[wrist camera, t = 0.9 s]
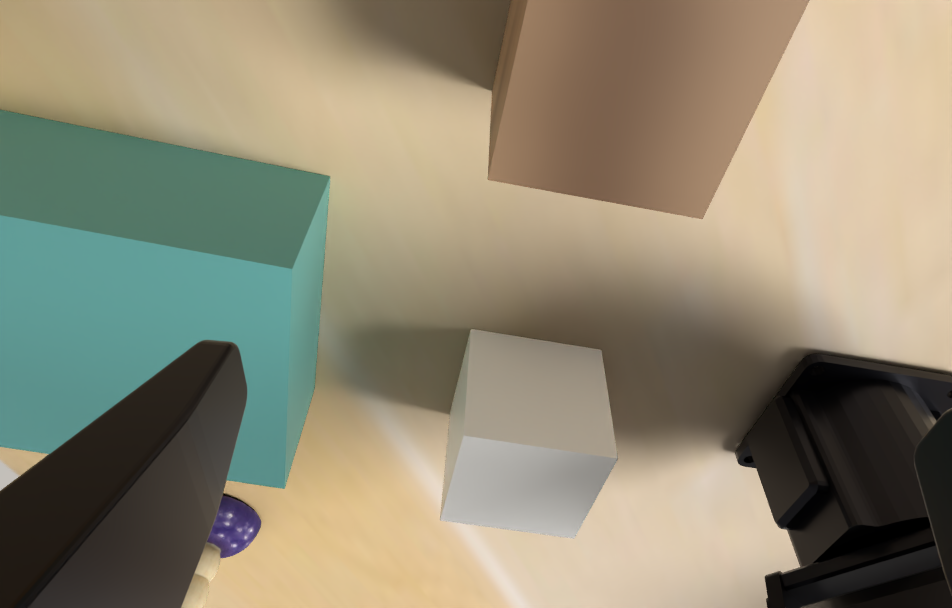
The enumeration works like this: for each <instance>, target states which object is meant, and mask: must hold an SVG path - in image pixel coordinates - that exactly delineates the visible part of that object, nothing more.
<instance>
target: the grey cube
mask: <svg viewBox="0 0 952 608" xmlns="http://www.w3.org/2000/svg"><path fill="white" fill-rule="evenodd" d="M617 459H618V456H617V449H616V442H615V436H614V429H613V423H612V416H611V409H610V403H609V396H608V390H607V383H606V377H605V370H604V363H603V357H602V350H599V349H593V348H587V347H581V346H574V345H568V344H562V343H556V342H550V341H544V340H537V339H531V338H525V337H519V336H513V335H507V334H500V333H494V332H488V331H482V330H476V329H471V330H470V334H469V338H468V342H467V346H466V350H465V354H464V358H463V362H462V366H461V371H460V375H459V379H458V383H457V387H456V391H455V395H454V399H453V403H452V407H451V411H450V416H449V427H448V438H447V449H446V460H445V471H444V482H443V493H442V504H441V516H440V520H441V521H448V522H456V523H463V524H470V525H478V526H485V527H492V528H500V529H507V530H514V531H522V532H529V533H536V534H544V535H551V536H558V537H566V538H573V539H574V538H575V536H576V534H577V532H578V531H579V529H580V527H581V525H582V523H583V521H584V520H585V518H586V516H587V514H588V512H589V511H590V509H591V507H592V505H593V503H594V501H595V500H596V498H597V496H598V494H599V492H600V490H601V489H602V487H603V485H604V483H605V481H606V480H607V478H608V476H609V474H610V472H611V470H612V469H613V467H614V465H615V463H616V461H617Z"/></svg>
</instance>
